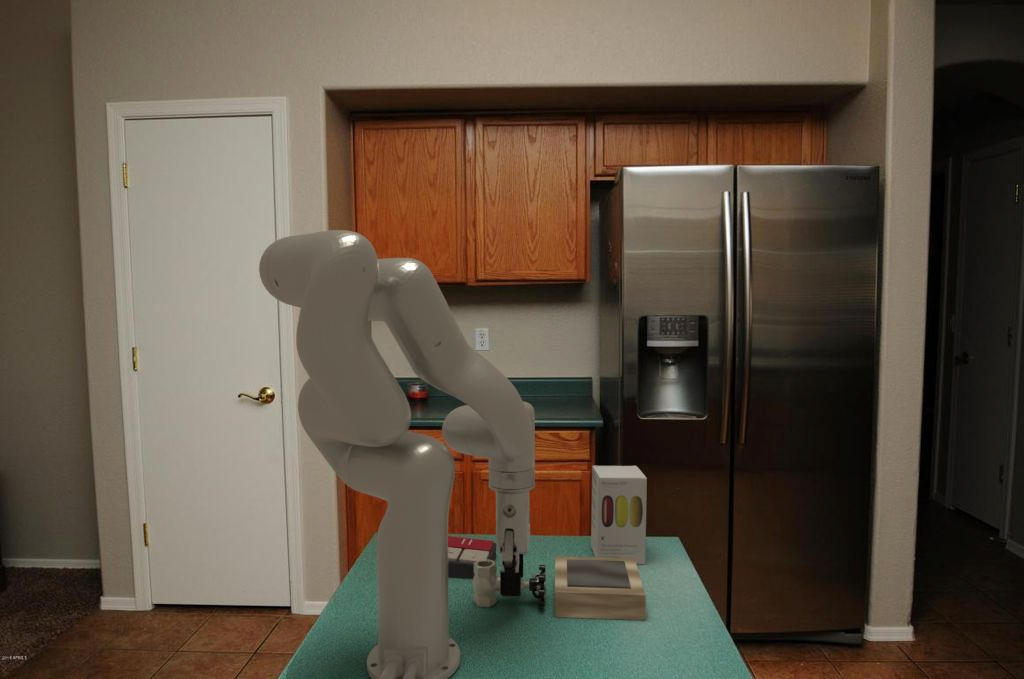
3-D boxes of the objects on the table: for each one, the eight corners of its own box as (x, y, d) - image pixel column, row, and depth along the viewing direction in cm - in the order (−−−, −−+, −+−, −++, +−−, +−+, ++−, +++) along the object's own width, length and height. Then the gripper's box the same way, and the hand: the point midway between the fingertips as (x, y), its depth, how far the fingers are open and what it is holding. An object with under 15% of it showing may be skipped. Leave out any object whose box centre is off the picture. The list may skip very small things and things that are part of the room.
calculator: (487, 562, 109) (405, 553, 111) (485, 585, 109) (404, 576, 112) (497, 538, 120) (423, 531, 122) (496, 560, 120) (422, 552, 122)
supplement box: (596, 565, 115) (596, 477, 114) (589, 546, 125) (589, 464, 124) (647, 565, 115) (648, 476, 115) (636, 546, 125) (637, 464, 124)
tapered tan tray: (645, 620, 95) (645, 593, 95) (554, 617, 96) (554, 590, 96) (634, 580, 109) (634, 556, 109) (555, 577, 110) (555, 554, 110)
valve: (469, 611, 98) (544, 614, 97) (469, 571, 98) (544, 574, 97) (475, 592, 105) (545, 595, 104) (475, 555, 104) (545, 557, 103)
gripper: (532, 494, 91) (532, 612, 92) (536, 464, 108) (537, 564, 109) (482, 493, 91) (482, 611, 92) (494, 463, 108) (495, 563, 109)
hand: (512, 584), depth 100 cm, fingers open, 5 cm apart
